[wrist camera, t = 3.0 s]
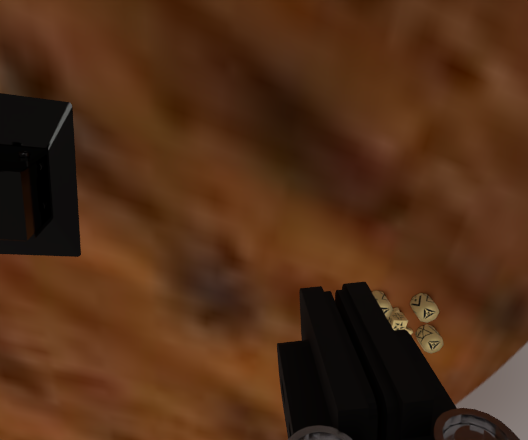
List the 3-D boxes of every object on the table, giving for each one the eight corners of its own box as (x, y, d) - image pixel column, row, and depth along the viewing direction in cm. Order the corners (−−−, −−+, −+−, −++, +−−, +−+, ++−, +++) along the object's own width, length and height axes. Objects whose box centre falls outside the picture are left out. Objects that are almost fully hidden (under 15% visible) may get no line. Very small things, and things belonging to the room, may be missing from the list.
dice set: (362, 287, 30) (370, 302, 28) (434, 277, 30) (447, 292, 28) (362, 345, 32) (370, 363, 30) (430, 335, 32) (442, 353, 30)
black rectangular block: (-52, 54, 22) (-117, 58, 18) (96, 71, 23) (68, 78, 19) (-21, 268, 27) (-67, 311, 23) (101, 275, 28) (79, 318, 23)
